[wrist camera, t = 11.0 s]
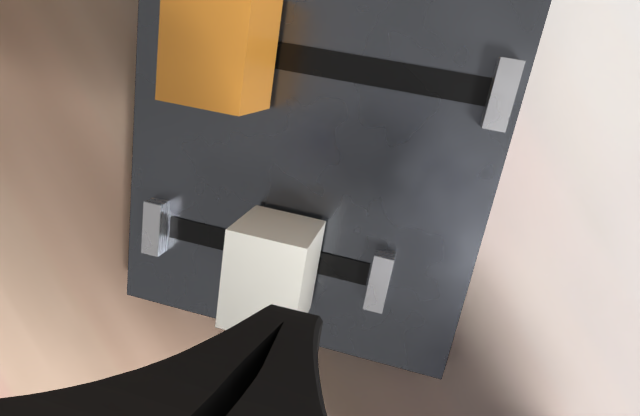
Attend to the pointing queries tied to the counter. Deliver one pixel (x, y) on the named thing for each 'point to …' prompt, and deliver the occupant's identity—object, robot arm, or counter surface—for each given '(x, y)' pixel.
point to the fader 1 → (218, 54)
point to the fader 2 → (268, 264)
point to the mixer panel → (344, 164)
